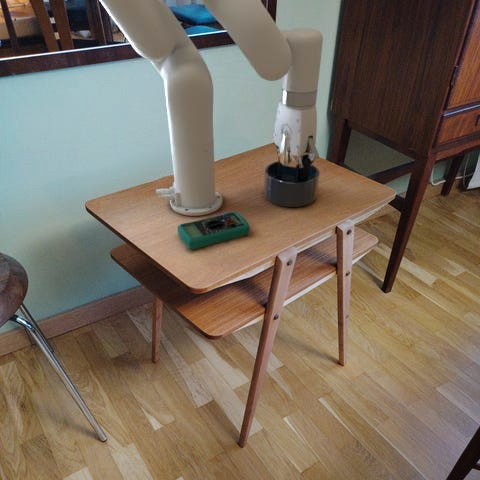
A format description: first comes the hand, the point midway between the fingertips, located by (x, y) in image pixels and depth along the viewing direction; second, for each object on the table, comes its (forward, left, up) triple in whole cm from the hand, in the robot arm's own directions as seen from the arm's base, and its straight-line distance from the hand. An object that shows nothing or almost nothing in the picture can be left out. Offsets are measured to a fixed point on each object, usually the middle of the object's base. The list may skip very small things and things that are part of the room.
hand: (292, 175), depth 108 cm
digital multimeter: (-22, -14, -6) cm, 27 cm away
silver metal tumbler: (0, 0, -5) cm, 5 cm away
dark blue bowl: (0, 0, -5) cm, 5 cm away
